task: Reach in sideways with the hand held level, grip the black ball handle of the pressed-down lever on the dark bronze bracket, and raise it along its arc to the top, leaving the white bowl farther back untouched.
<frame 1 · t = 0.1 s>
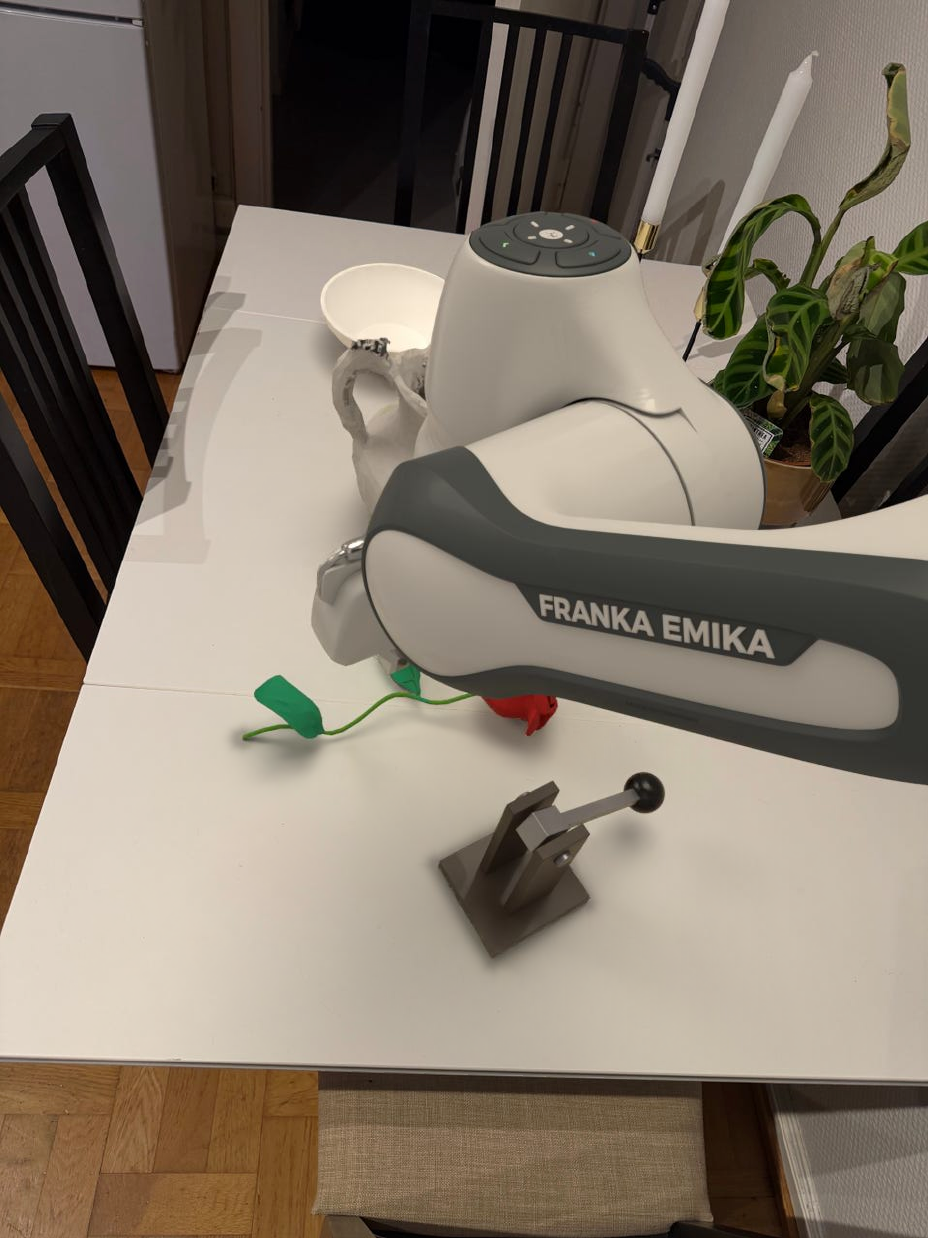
hand: (452, 639, 60), 25 cm above the table, tool pointing down, fingers open, 8 cm apart
ceramic pitcher: (424, 526, 100), on the table
bowl: (391, 350, 119), on the table
lever: (598, 809, 72), point 9 cm above the table, hinge at -25.0°
decorative flower: (397, 700, 86), on the table
bracket: (512, 884, 76), on the table
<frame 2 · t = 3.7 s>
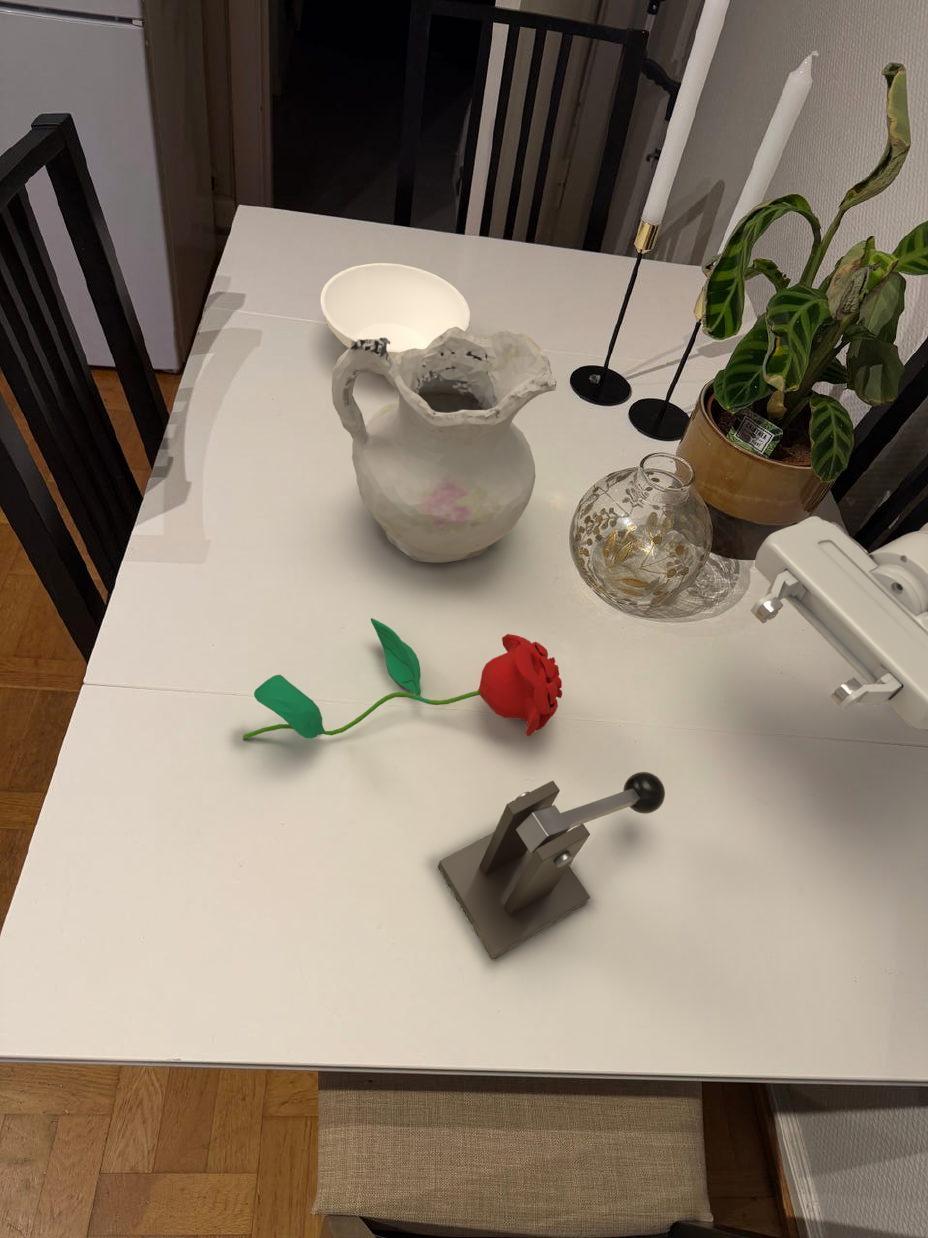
hand: (798, 654, 71), 20 cm above the table, tool horizontal, fingers open, 8 cm apart
nothing on the table moved.
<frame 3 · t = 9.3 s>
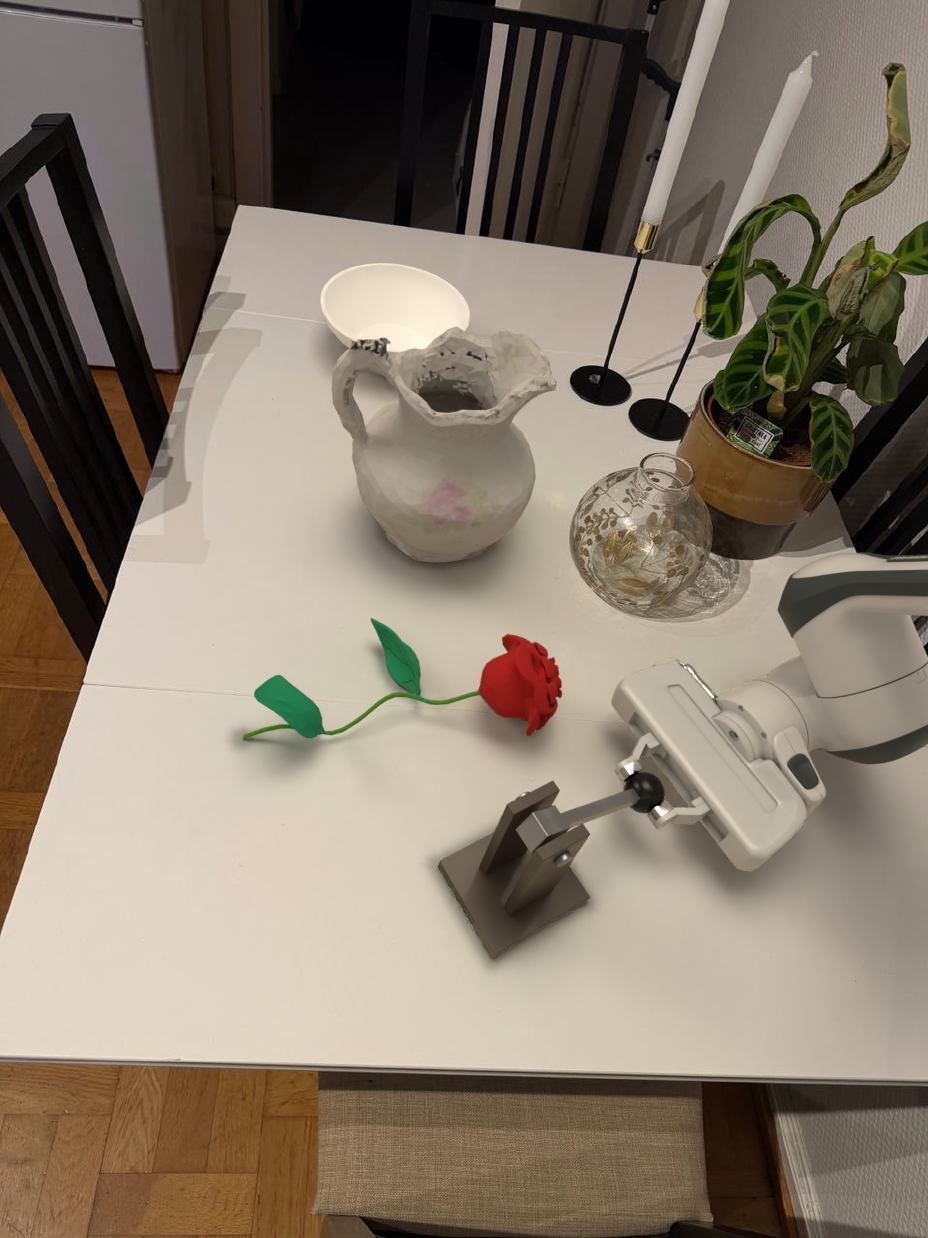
hand: (636, 797, 76), 6 cm above the table, tool horizontal, fingers closed on lever, 3 cm apart
lever: (598, 809, 72), point 9 cm above the table, hinge at -25.0°, touching gripper
everything else where it was.
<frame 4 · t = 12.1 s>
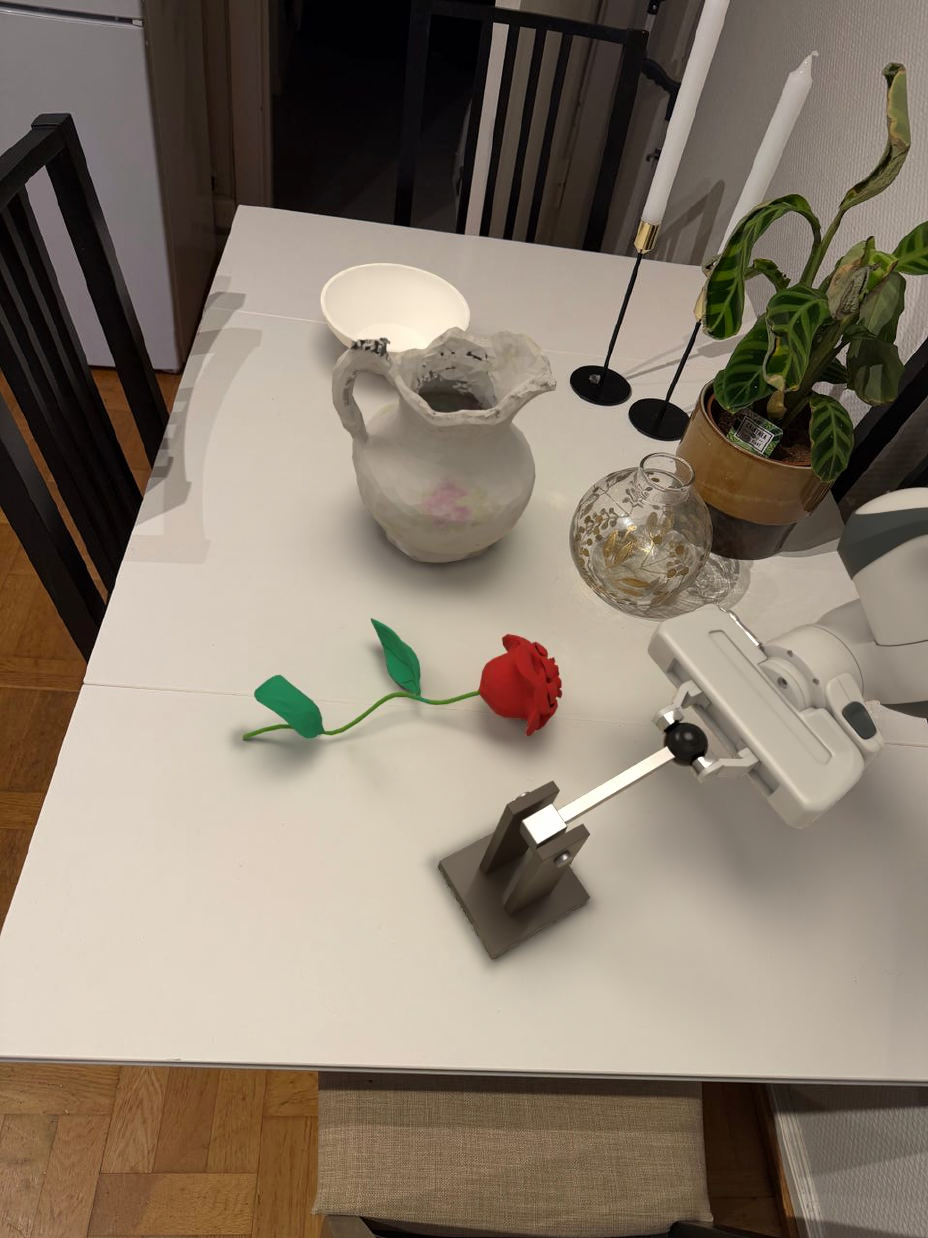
hand: (677, 748, 70), 14 cm above the table, tool horizontal, fingers closed on lever, 3 cm apart
lever: (618, 784, 69), point 13 cm above the table, hinge at 8.1°, touching gripper
everything else where it was.
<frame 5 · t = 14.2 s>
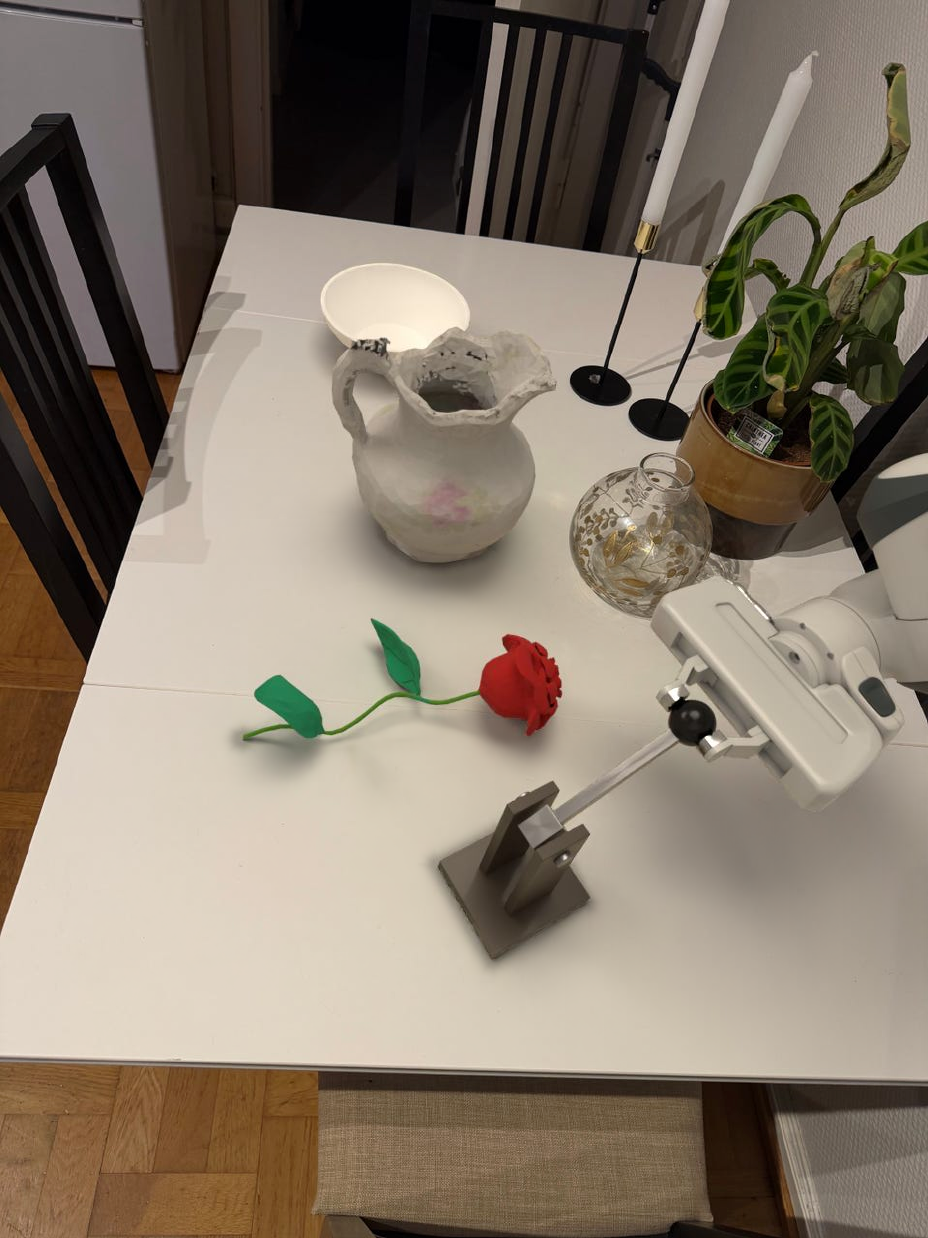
hand: (683, 726, 66), 19 cm above the table, tool horizontal, fingers closed on lever, 3 cm apart
lever: (619, 774, 67), point 15 cm above the table, hinge at 28.5°, touching gripper
everything else where it was.
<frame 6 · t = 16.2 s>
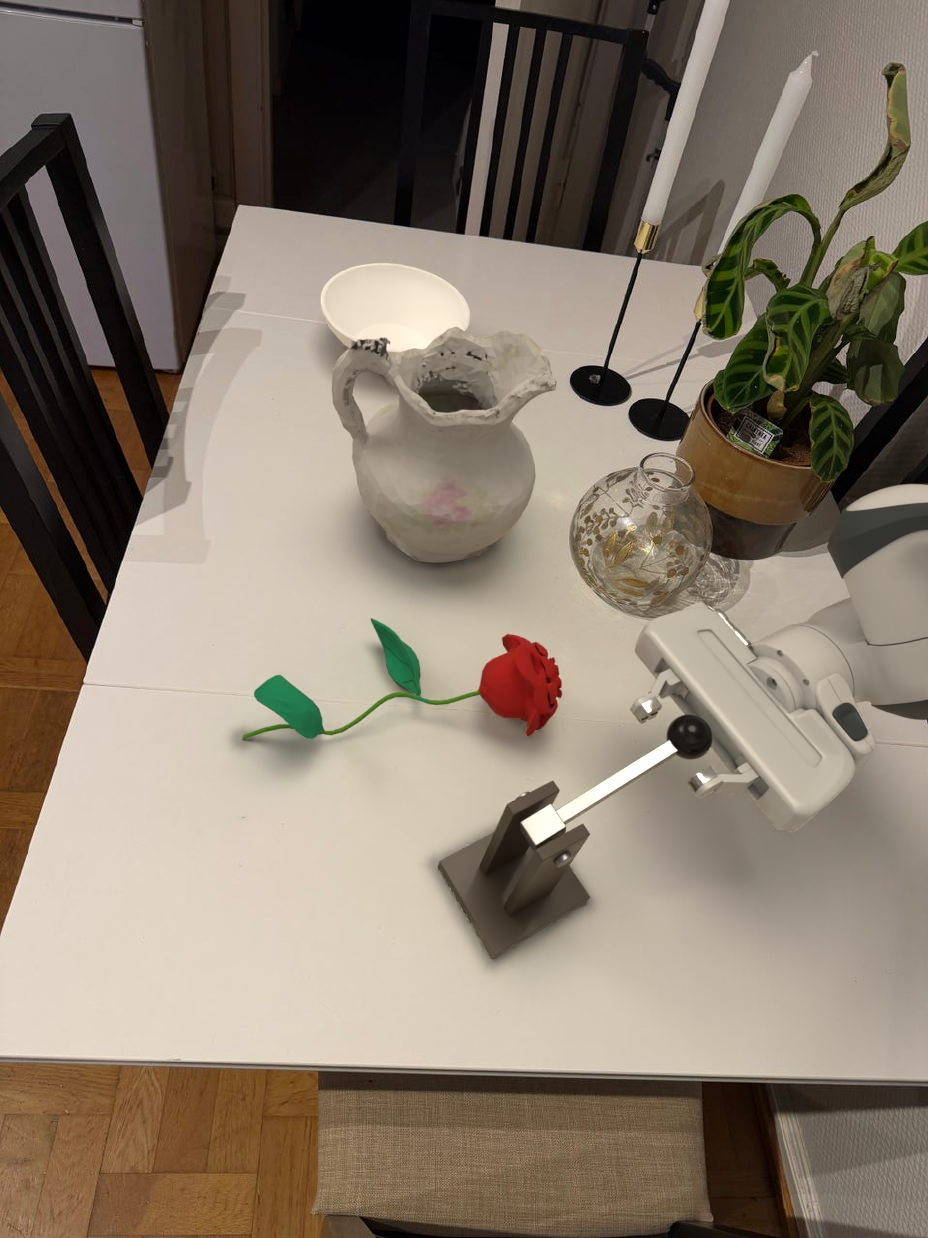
hand: (665, 749, 69), 15 cm above the table, tool horizontal, fingers open, 6 cm apart
lever: (619, 780, 68), point 14 cm above the table, hinge at 14.3°
everything else where it was.
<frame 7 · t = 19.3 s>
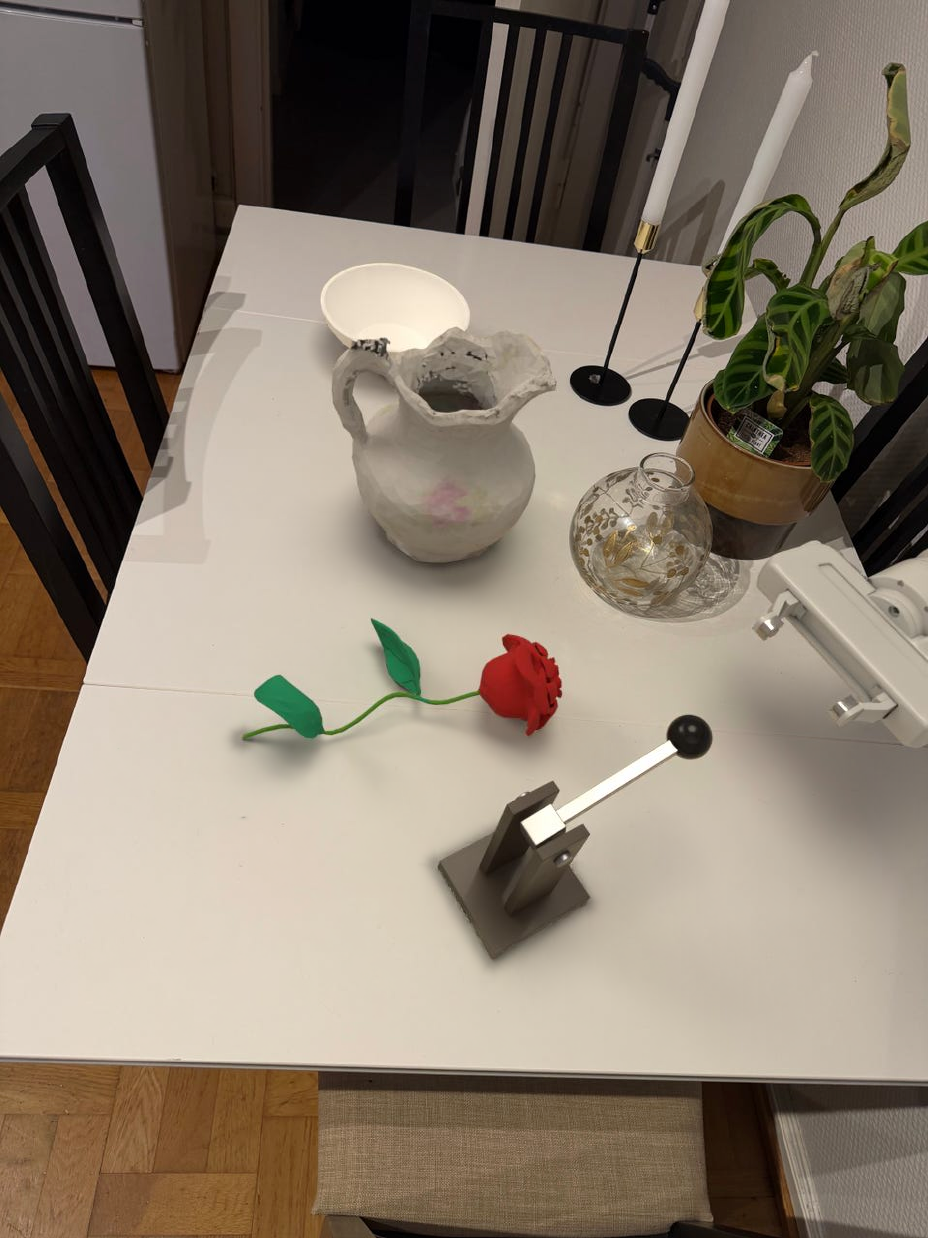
hand: (797, 671, 73), 17 cm above the table, tool horizontal, fingers open, 8 cm apart
nothing on the table moved.
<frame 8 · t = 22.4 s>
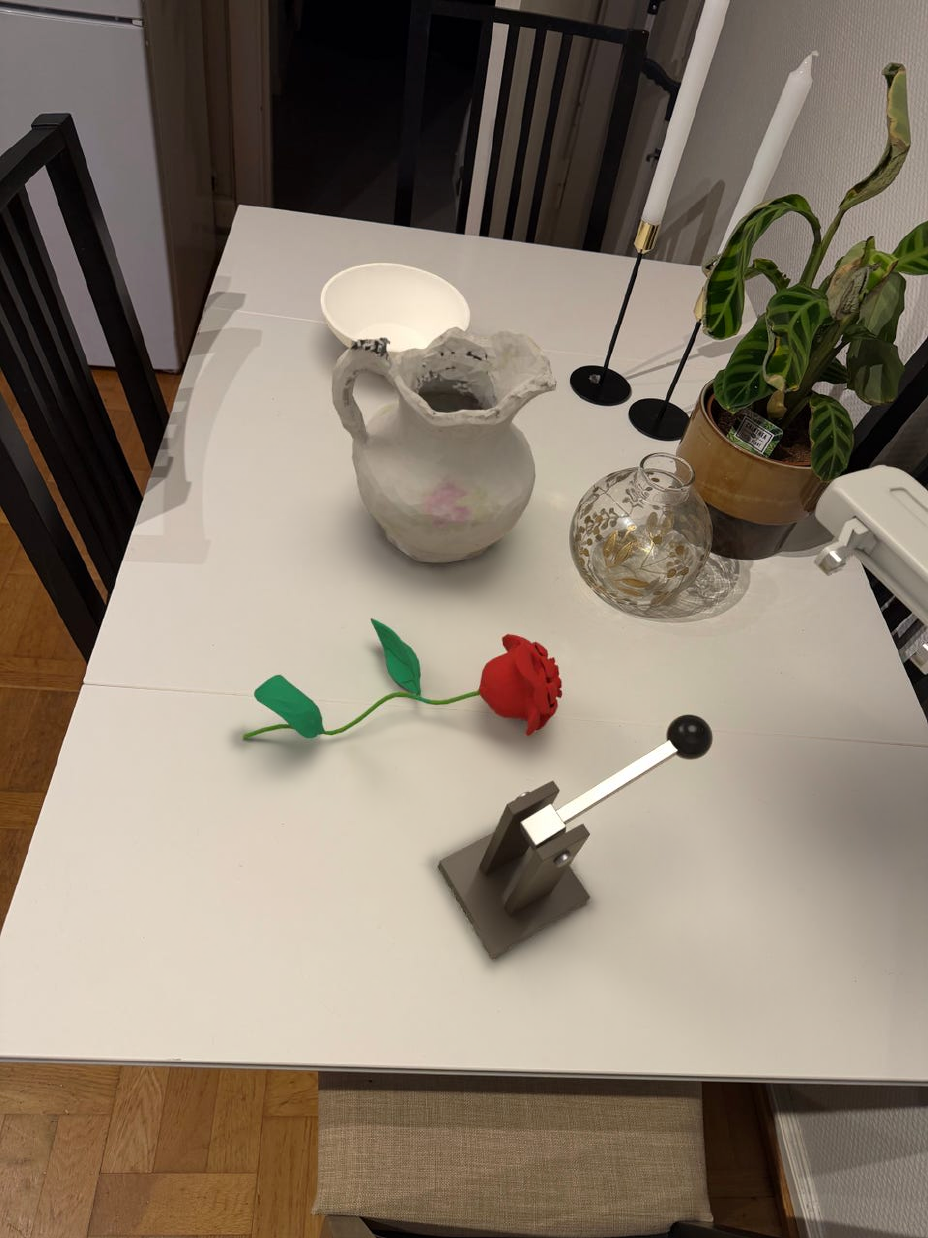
hand: (871, 610, 61), 30 cm above the table, tool horizontal, fingers open, 8 cm apart
nothing on the table moved.
at the end: lever reached +28° during the clip, +14° at the end; lever at +14° (first picture: -25°); bowl moved 0.2 cm from its start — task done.
